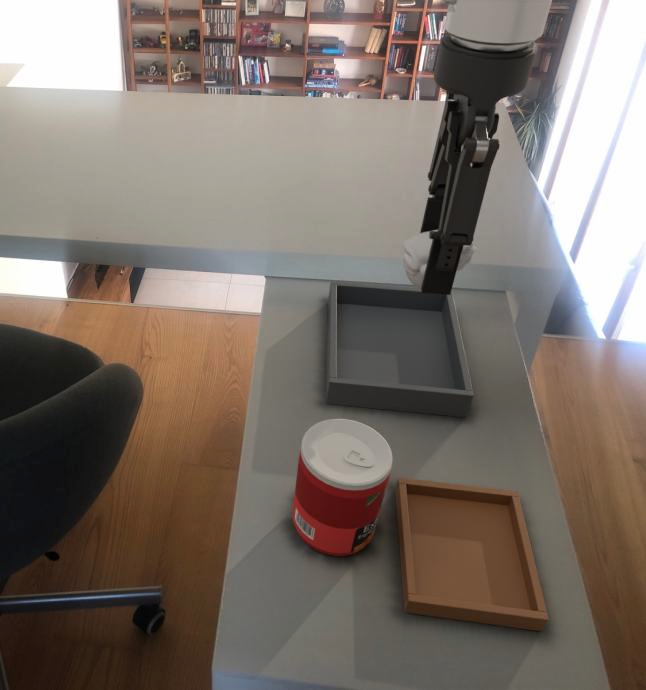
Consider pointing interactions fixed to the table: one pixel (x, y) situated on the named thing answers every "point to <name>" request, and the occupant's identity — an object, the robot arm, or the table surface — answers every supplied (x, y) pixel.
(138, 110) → the table surface
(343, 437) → the canned food
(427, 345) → the tub
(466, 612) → the tray
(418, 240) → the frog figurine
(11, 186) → the table surface
